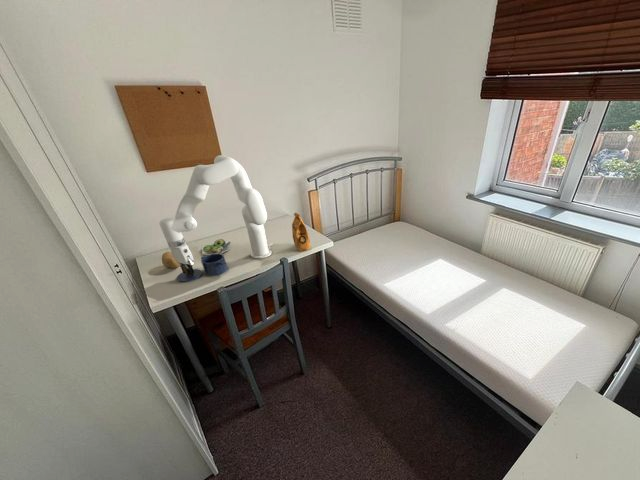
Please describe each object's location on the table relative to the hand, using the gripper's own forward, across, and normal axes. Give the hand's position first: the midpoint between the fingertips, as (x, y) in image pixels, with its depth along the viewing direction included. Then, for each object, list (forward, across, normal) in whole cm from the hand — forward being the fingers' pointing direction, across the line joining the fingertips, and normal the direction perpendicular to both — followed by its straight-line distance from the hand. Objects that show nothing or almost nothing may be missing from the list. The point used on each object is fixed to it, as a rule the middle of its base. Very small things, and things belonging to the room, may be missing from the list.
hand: (188, 272), depth 158 cm
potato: (+3, +20, -5) cm, 21 cm away
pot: (+3, -8, -11) cm, 14 cm away
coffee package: (+4, -34, -56) cm, 66 cm away
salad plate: (+4, +15, -31) cm, 34 cm away
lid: (+2, 0, 0) cm, 2 cm away
